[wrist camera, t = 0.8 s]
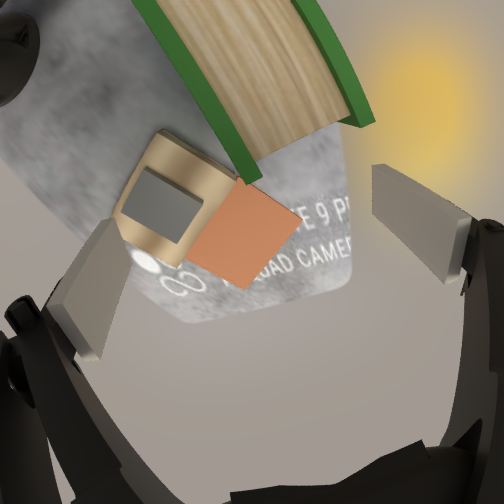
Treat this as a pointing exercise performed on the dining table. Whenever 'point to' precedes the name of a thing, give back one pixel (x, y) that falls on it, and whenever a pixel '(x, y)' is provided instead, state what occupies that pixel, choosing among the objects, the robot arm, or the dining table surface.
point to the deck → (188, 177)
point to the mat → (243, 235)
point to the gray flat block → (161, 205)
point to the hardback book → (259, 71)
